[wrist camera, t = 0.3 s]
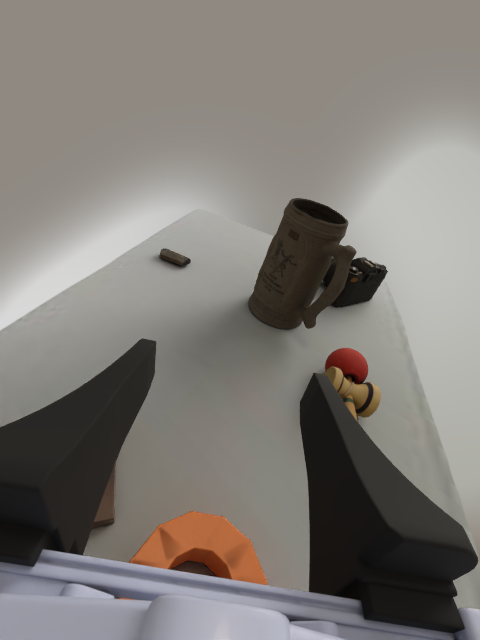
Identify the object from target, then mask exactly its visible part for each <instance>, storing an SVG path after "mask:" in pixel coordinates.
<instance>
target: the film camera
mask: <svg viewBox="0 0 480 640" xmlns="http://www.w3.org/2000/svg"><path fill="white" fill-rule="evenodd" d="M335 269H336V259H335V258H334V257H333V258H332V259H331V264H330V267H329V269H328V271H327V273H326V275H325V277H324V278H323V282H324V283H325V285H326V286H328V285H329V284H330V282H331V280H332V278H333V276H334V272H335ZM387 272H388V271H387V270H386V267H385V266H384V265H378V264H377V263H373V262H372V261H368V260H367V259H366V258H357V259H354V260H352V262H351V264H350V268H349V273H348V277H347V280H346V283H345V286H344V288H343V290H342V291H341V293H340V294H339V296H338V297H337V298H336V299H335V301H333V302H332V303H331V304H332V305H333V306H336V307H339V306H340V305H342V306H346V305H351V304H355V303H358V302H362V301H367V300H370V299H371V298H372V297H373V295H374V293H375V292H376V290H377V289H378V287H379V286H380V284H381V282H382V281H383V279H384V278H385V276H386V274H387Z"/></svg>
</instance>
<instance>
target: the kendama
mask: <svg viewBox="0 0 480 640" xmlns="http://www.w3.org/2000/svg"><path fill="white" fill-rule="evenodd" d="M323 375H327V376H328V378H329V379H330V381H331V383H332V384H333V386H334V387H335V389H336V390H337V392H338V394H339V395H340V397H341V398H342V399H343V401H344V403H345V404H346V406H347V407H348V409H349V410H350V412H351V413H352V415H353V416H354V418H355V419H356V420H357V416H356V415H359V416H361V417H369V416H370V415H372V414H373V413H374V412H375V410H376V409H377V407H378V405H379V402H380V398H381V392H380V389H379V388H378V387H377V386H376V385H374V384H372V383H370V382H366V383H363V382H364V381H365V379H366V377H367V375H368V365H367V362H366V360H365V358H364V357H363V356H362V355H361V354H360V353H359V352H357V351H356V350H353V349H350V348H341V349H338V350H336V351H334V352H332V353H331V354H330V355H329V357H328V358H327V360H326V364H325V373H324V374H323Z"/></svg>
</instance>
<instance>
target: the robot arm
mask: <svg viewBox="0 0 480 640" xmlns="http://www.w3.org/2000/svg"><path fill="white" fill-rule="evenodd" d="M155 355H156V341H152V340H147V339H141V340H139V341H138V342H137V343H136V344H135V345H134V346H133V347H132V348H131V349H129V350H128V351H127V352H126V353H125V354H124V355H122V356H121V357H120V358H119V359H118V360H116V361H115V362H114V363H113V364H111V365H110V366H109V367H108V368H106V369H105V370H104V371H102V372H101V373H100V374H98V375H97V376H95V377H94V378H93V379H91V380H90V381H88V382H87V383H85V384H84V385H82V386H81V387H79V388H78V389H76V390H74V391H73V392H71V393H70V394H68V395H66V396H64V397H63V398H61V399H59V400H57V401H56V402H54V403H52V404H50V405H48V406H46V407H44V408H42V409H40V410H38V411H36V412H34V413H32V414H30V415H28V416H26V417H23V418H21V419H19V420H17V421H15V422H12V423H10V424H7V425H5V426H3V427H0V640H480V610H479V609H473V608H458V609H457V606H456V604H455V601H454V599H453V597H455V596H457V591H456V588H455V586H454V583H453V580H455V579H457V578H459V577H461V576H462V575H464V574H466V573H468V572H470V571H471V570H473V569H474V568H475V567H476V565H477V563H478V557H477V555H476V553H475V551H474V549H473V547H472V545H471V543H470V540H469V538H468V536H467V534H466V532H465V530H464V528H463V527H462V526H461V525H460V524H459V523H458V522H456V521H455V520H454V519H453V518H452V517H450V516H449V515H448V514H447V513H445V512H444V511H443V510H442V509H440V508H439V507H438V506H437V505H436V504H434V503H433V502H432V501H431V500H430V499H429V498H428V497H426V496H425V495H424V494H423V493H422V492H421V491H420V490H419V489H418V488H416V487H415V486H414V485H413V484H412V483H411V482H410V481H409V480H408V479H407V478H406V477H405V476H404V475H403V474H402V473H401V472H400V471H399V470H398V469H397V468H396V467H395V466H394V465H393V464H392V463H391V462H390V461H389V460H388V459H387V457H386V456H385V455H384V454H383V453H382V452H381V451H380V449H379V448H378V447H377V446H376V445H375V444H374V442H373V441H372V440H371V439H370V438H369V436H368V435H367V434H366V432H365V431H364V430H363V428H362V427H361V426H360V424H359V423H358V422H357V420H356V419H355V418H354V416H353V415H352V413H351V412H350V410H349V409H348V407H347V406H346V404H345V403H344V401H343V400H342V398H341V397H340V395H339V394H338V392H337V390H336V389H335V387H334V386H333V384H332V383H331V381H330V379H329V378H328V376H327V375H322V374H317V373H314V374H313V376H312V378H311V380H310V382H309V384H308V386H307V389H306V391H305V393H304V395H303V397H302V399H301V401H300V426H301V434H302V441H303V448H304V454H305V461H306V468H307V476H308V491H309V520H310V572H309V592H306V591H299V590H293V589H287V588H281V587H275V586H268V585H262V584H256V583H250V582H244V581H237V580H231V579H225V578H219V577H213V576H206V575H200V574H194V573H188V572H182V571H175V570H169V569H163V568H157V567H151V566H144V565H138V564H132V563H126V562H120V561H113V560H107V559H101V558H95V557H89V556H83V553H84V550H85V547H86V544H87V541H88V538H89V535H90V532H91V529H92V526H93V523H94V520H95V517H96V514H97V511H98V509H99V506H100V503H101V500H102V497H103V494H104V492H105V489H106V486H107V484H108V481H109V478H110V476H111V473H112V470H113V468H114V465H115V462H116V460H117V457H118V455H119V452H120V449H121V447H122V445H123V443H124V440H125V438H126V436H127V434H128V432H129V430H130V428H131V426H132V424H133V422H134V420H135V418H136V416H137V414H138V412H139V410H140V408H141V406H142V404H143V402H144V400H145V398H146V396H147V394H148V391H149V388H150V386H151V383H152V380H153V377H154V374H155ZM114 596H115V597H121V598H128V599H134V600H125V599H115V598H114Z"/></svg>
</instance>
